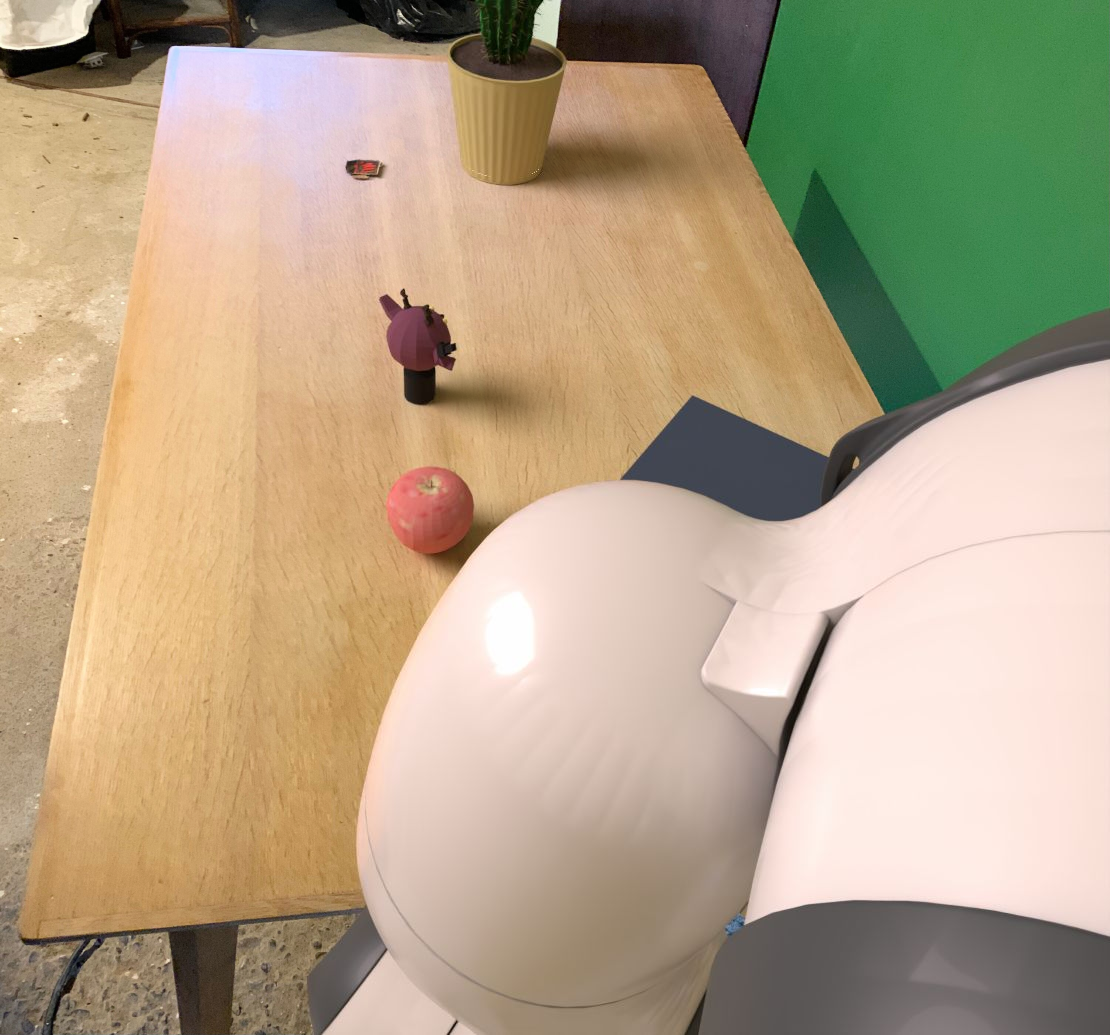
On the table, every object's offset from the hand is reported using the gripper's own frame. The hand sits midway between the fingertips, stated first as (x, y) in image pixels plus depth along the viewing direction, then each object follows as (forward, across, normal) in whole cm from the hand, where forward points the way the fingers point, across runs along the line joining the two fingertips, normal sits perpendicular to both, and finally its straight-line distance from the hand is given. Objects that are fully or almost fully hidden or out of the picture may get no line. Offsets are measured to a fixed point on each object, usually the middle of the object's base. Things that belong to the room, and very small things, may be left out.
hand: (603, 744), depth 67 cm
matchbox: (+59, +71, +5) cm, 92 cm away
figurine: (+27, +37, +5) cm, 46 cm away
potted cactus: (+73, +58, +5) cm, 93 cm away
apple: (+12, +24, +5) cm, 27 cm away
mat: (+36, +4, +5) cm, 36 cm away
